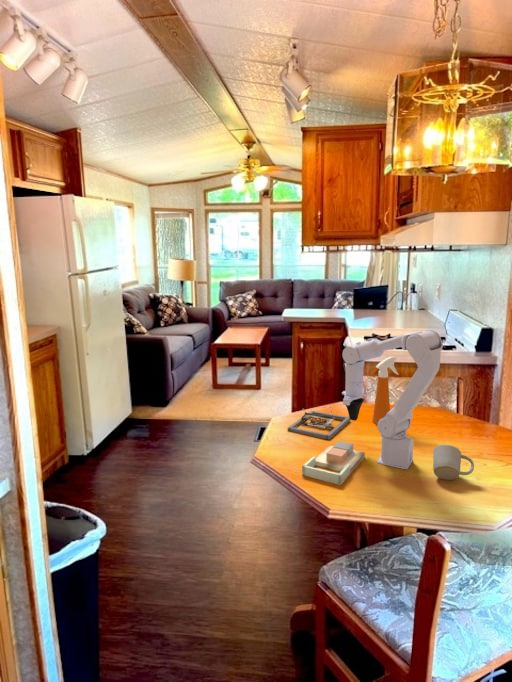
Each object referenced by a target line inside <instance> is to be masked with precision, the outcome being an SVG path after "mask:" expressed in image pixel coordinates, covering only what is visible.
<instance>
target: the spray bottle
mask: <svg viewBox="0 0 512 682" xmlns="http://www.w3.org/2000/svg"><path fill="white" fill-rule="evenodd" d="M396 360H397V356H396V355H395V356H394V355H393V356H389V357H387V358H385V359H384V360H381V361H379V363H377V365H375V368H376V369H379V370H378V375H377V383H376V391H375V398H374V399H375V400H374V405H373V415H372V423H373V424H374V425H377V426H378V421H379V420H380V419H381V418H384V417H385V416H386V414H387V413H388V412H389V411H390V410H391V404H390V387H389V371H388V368H389V369H390V370H391V371H392V372H393V373H394V374H396V375H398V376H399V375H400V374H399V373H398V371H397V368H396V367H395V361H396Z"/></svg>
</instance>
